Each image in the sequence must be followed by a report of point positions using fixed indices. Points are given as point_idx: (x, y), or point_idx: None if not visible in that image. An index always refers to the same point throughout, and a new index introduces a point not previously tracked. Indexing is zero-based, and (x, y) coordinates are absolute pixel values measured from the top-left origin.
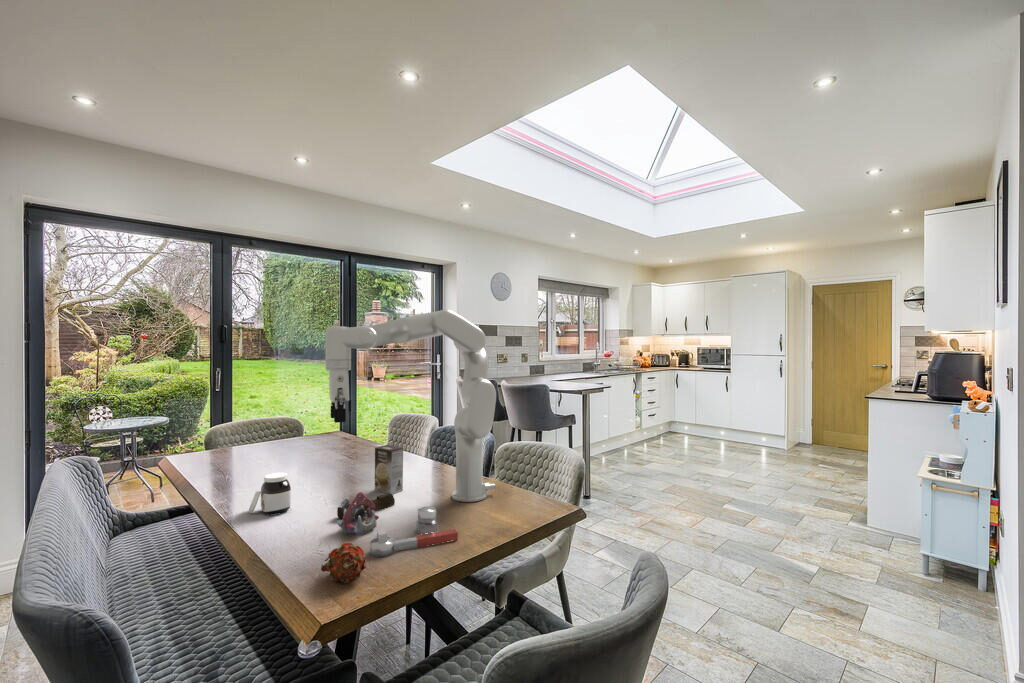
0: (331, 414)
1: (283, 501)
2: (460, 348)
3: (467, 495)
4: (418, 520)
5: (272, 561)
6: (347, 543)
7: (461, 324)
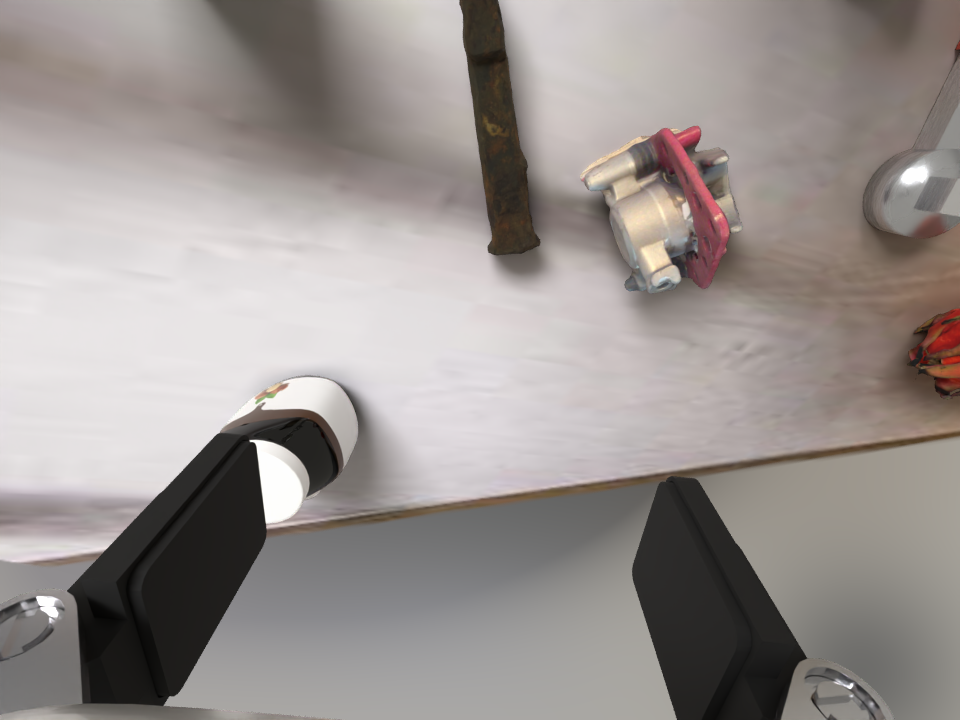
0: (244, 574)
1: (346, 416)
2: None
3: None
4: None
5: (707, 453)
6: None
7: None
